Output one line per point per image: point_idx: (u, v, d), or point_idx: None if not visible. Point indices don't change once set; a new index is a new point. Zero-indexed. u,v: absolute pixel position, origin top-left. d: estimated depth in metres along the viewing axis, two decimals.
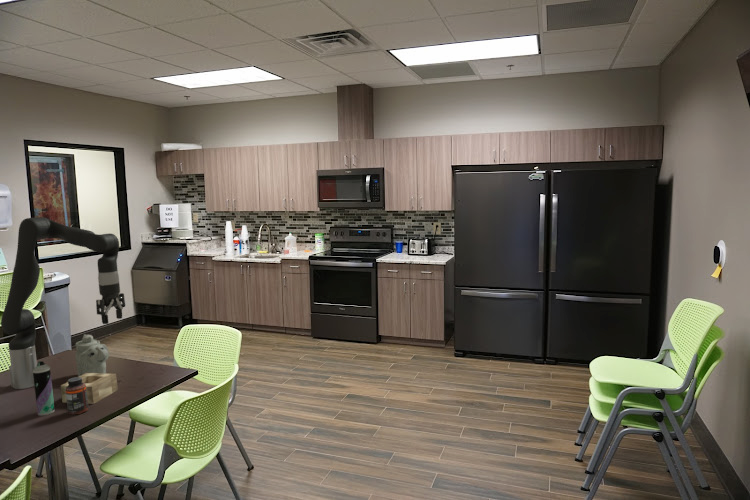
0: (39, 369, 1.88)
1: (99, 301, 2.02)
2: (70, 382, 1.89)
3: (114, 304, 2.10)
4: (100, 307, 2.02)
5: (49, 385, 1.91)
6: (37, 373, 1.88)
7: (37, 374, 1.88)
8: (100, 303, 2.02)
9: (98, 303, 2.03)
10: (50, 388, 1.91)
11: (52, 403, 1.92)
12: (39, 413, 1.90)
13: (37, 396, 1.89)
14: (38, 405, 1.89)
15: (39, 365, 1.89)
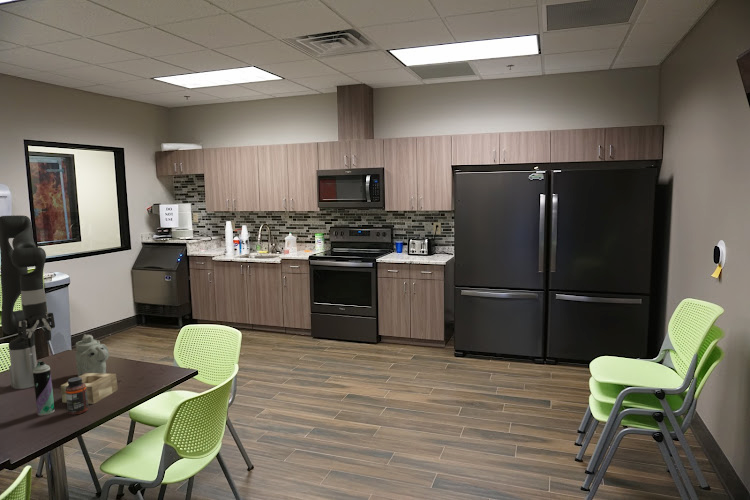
0: (39, 369, 1.88)
1: (20, 323, 1.82)
2: (70, 382, 1.89)
3: (40, 325, 1.89)
4: (21, 329, 1.82)
5: (49, 385, 1.91)
6: (37, 373, 1.88)
7: (37, 374, 1.88)
8: (21, 325, 1.81)
9: (19, 325, 1.82)
10: (50, 388, 1.91)
11: (52, 403, 1.92)
12: (39, 413, 1.90)
13: (37, 396, 1.89)
14: (38, 405, 1.89)
15: (39, 365, 1.89)
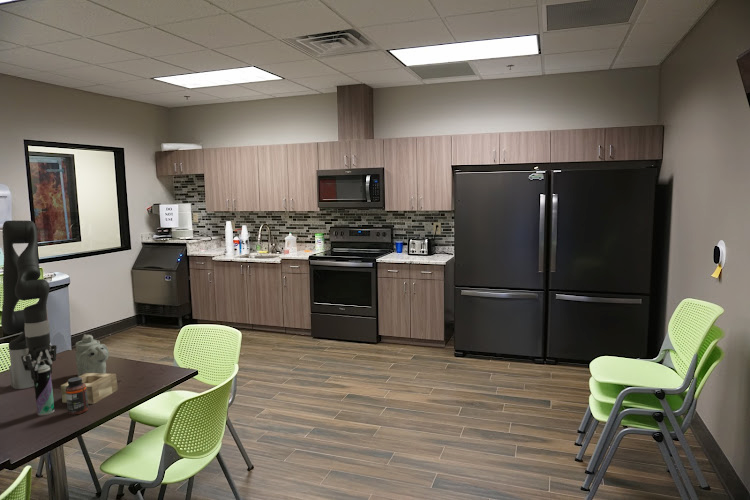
0: (39, 369, 1.88)
1: (24, 358, 1.83)
2: (70, 382, 1.89)
3: (42, 356, 1.90)
4: (27, 364, 1.84)
5: (49, 385, 1.91)
6: None
7: None
8: (26, 360, 1.83)
9: (24, 360, 1.83)
10: (50, 388, 1.91)
11: (52, 403, 1.92)
12: (39, 413, 1.90)
13: (37, 396, 1.89)
14: (38, 405, 1.89)
15: (39, 365, 1.89)
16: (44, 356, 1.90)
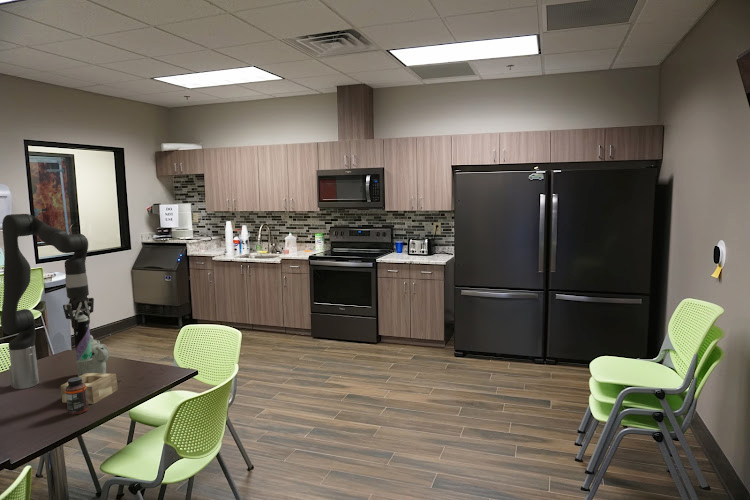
0: (79, 318, 2.00)
1: (66, 306, 1.95)
2: (70, 382, 1.89)
3: (81, 307, 2.02)
4: (68, 312, 1.96)
5: (88, 334, 2.03)
6: None
7: None
8: (67, 308, 1.95)
9: (65, 308, 1.95)
10: (88, 337, 2.03)
11: (90, 351, 2.04)
12: (78, 360, 2.02)
13: (77, 344, 2.01)
14: (77, 352, 2.01)
15: (78, 315, 2.01)
16: (83, 307, 2.02)
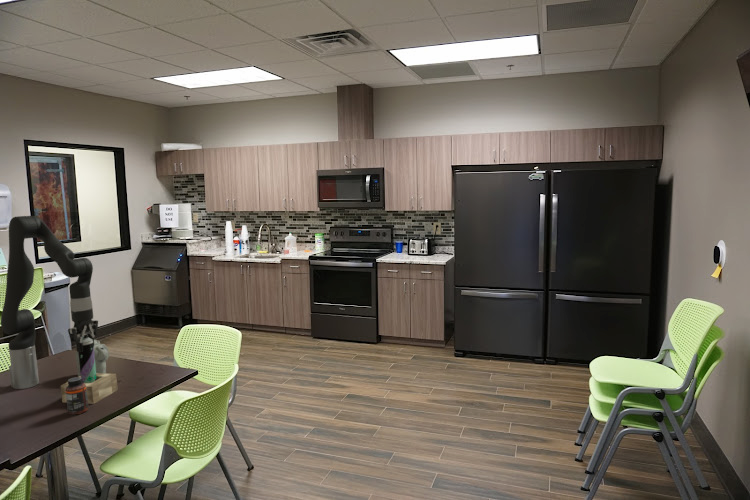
0: (83, 342, 2.02)
1: (71, 330, 1.97)
2: (70, 382, 1.89)
3: (86, 330, 2.04)
4: (73, 336, 1.98)
5: (92, 357, 2.05)
6: None
7: None
8: (72, 332, 1.97)
9: (70, 332, 1.97)
10: (93, 360, 2.05)
11: (95, 374, 2.06)
12: None
13: (81, 367, 2.03)
14: (82, 375, 2.03)
15: (83, 338, 2.03)
16: (87, 330, 2.04)
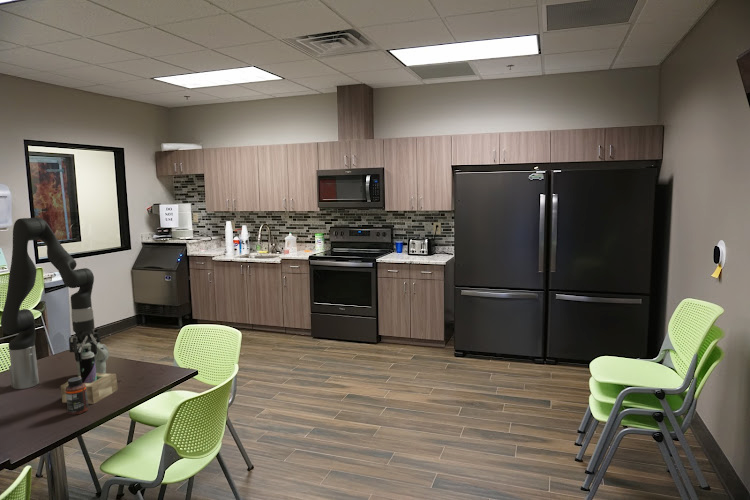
0: (85, 355, 2.03)
1: (72, 339, 1.97)
2: (70, 382, 1.89)
3: (88, 340, 2.05)
4: (73, 345, 1.97)
5: (94, 370, 2.05)
6: (83, 359, 2.03)
7: (83, 360, 2.03)
8: (73, 341, 1.97)
9: (71, 341, 1.97)
10: (94, 373, 2.06)
11: None
12: None
13: (83, 380, 2.04)
14: None
15: (85, 352, 2.04)
16: (90, 340, 2.05)
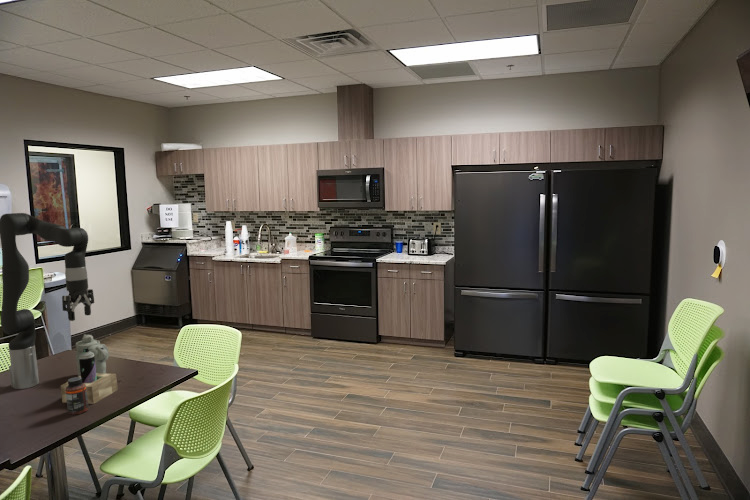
0: (85, 355, 2.03)
1: (65, 297, 1.97)
2: (70, 382, 1.89)
3: (82, 300, 2.04)
4: (66, 303, 1.97)
5: (94, 370, 2.05)
6: (83, 359, 2.03)
7: (83, 360, 2.03)
8: (66, 299, 1.97)
9: (64, 299, 1.97)
10: (94, 373, 2.06)
11: None
12: None
13: (83, 380, 2.04)
14: None
15: (85, 352, 2.04)
16: (83, 300, 2.05)
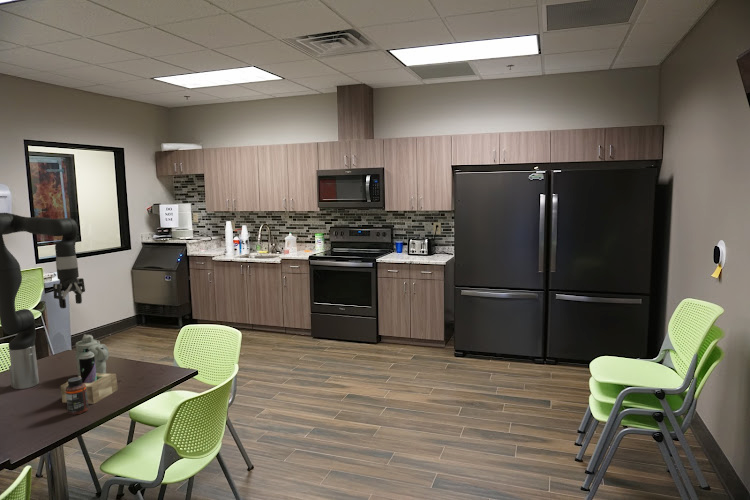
0: (85, 355, 2.03)
1: (56, 285, 2.03)
2: (70, 382, 1.89)
3: (73, 289, 2.10)
4: (57, 291, 2.03)
5: (94, 370, 2.05)
6: (83, 359, 2.02)
7: (83, 360, 2.03)
8: (57, 287, 2.02)
9: (55, 287, 2.03)
10: (94, 373, 2.06)
11: None
12: None
13: (83, 380, 2.04)
14: None
15: (85, 352, 2.04)
16: (74, 288, 2.11)
